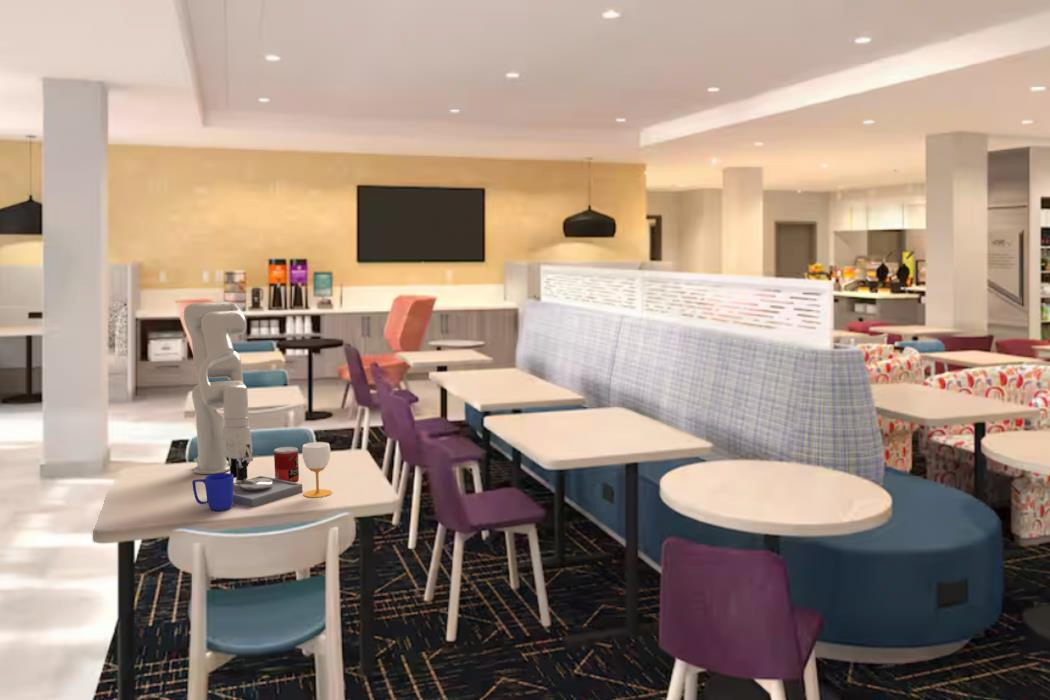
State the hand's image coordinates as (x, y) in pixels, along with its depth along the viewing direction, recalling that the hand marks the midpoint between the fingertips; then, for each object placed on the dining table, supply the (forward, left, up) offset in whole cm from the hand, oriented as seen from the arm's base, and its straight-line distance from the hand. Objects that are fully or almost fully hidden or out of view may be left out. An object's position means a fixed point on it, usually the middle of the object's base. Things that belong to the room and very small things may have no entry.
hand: (239, 477), depth 287 cm
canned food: (+3, +18, -5) cm, 19 cm away
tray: (+8, +1, -5) cm, 9 cm away
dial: (+6, +1, -2) cm, 6 cm away
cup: (+24, +12, -5) cm, 27 cm away
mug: (+9, -17, -5) cm, 19 cm away
